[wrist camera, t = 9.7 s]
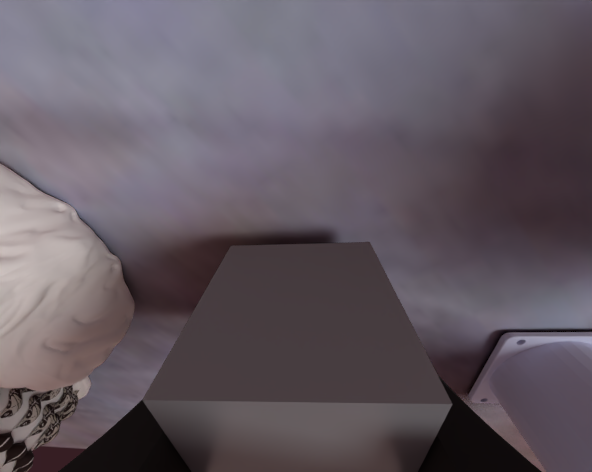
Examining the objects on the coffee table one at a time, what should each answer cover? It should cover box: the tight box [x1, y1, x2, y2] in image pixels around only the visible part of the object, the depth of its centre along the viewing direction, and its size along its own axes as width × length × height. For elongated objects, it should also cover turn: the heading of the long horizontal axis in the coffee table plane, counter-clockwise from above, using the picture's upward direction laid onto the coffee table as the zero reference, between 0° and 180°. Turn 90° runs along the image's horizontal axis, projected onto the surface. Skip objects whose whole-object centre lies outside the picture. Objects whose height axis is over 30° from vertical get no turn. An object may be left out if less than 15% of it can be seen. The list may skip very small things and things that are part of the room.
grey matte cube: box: [143, 242, 452, 472], centre depth 9 cm, size 6×6×7 cm
